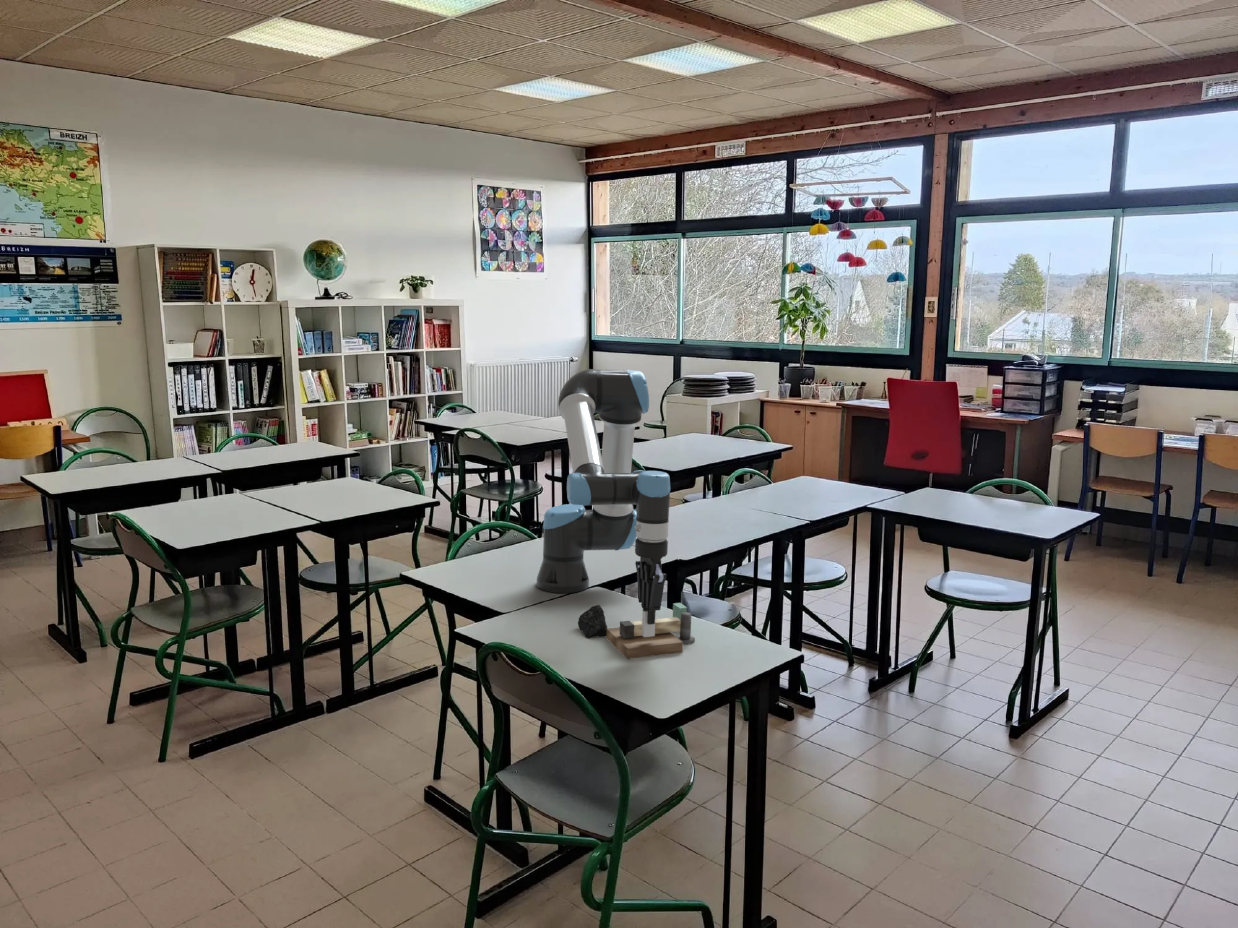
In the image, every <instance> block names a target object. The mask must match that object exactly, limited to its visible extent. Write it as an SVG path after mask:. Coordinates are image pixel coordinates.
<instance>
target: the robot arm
mask: <svg viewBox="0 0 1238 928" xmlns="http://www.w3.org/2000/svg"><path fill="white" fill-rule="evenodd" d="M648 387H649V386H648V382H647V379H646V376H645V374H644V373H643V371H641V370H635V369H633V370H631V369H628V368H626V369H594V368H592V369H591V368H588V369H584V370H580V371H578V372H576V373H575V374H574V375H572V376H571V377H570V378H569V379H568V380H567V381H566V382H565V383H564V385H563V386H562V388H561V390H560V392H559V395H558V401H557V402H558V404H557V405H558V411H559V415H560V417H561V418H562V419H563V420H564V425H565V431H566V436H567V437H566V438H567V443H568V450H569V455H570V461H571V468H572V472H573V473H570V474H568V475H567V479H566V480H567V481H566V494H567V495H566V497H567V501H568V504H567V503H566V504H560V505H556V506H553V507H550V508H548V509H547V510H546V511H545V513H544V516H543V525H542V528H543V545H542V546H543V549H542V551H543V552H542V556H543V557H542V562H541V564H540V567H539V570H538V573H537V576H536V587H537V588H538V589H540V590H542V591H544V592H550V593H555V594H556V593H557V594H569V593H570V594H571V593H572V594H573V593H578V592H583V591H585V590H587V589H588V588H589V586H590V577H589V574H588V571H587V568H586V564H585V561H584V551H585V552H586V551H620V550H628V549H631V547H633V545H634V553H635V555H636V556H638V557H639V559H640V560H635V563H634V565H635V569H636V578H637V579H636V580H637V595H638V599H637V601H638V602H639V604H640V603H641V608H642V615H641V616H642V617H641V618H642V619H641V621H642V636H643V637H651V636H655V619H656V615H657V613H656V611H661V606H662V599H663V596H664V595H663V593H664V586H665V583H666V580H667V573H663V572H662V569H663V568H662V567H663V566H662V559H663V558H665V557H666V556H667V555H668V551H669V550H668V548H669V546H668V544H669V541H668V537H669V531H670V530H669V527H670V520H669V518H670V517H669V516H670V498H671V497H670V493H671V488H672V487H671V478H670V475H669V473H667V472H665V471H661V470H659V471H658V470H643V469H642V470H641V469H639V470H634V471H632V463H633V453H634V452H633V451H634V441H635V439H634V438H635V431H636V430H635V429H636V428H635V427H636V425H638V424H639V423H640V422H641V420H642V414H643V415H644V414H647V413H648V412H649V409H650V395H649V388H648ZM595 413H597V414H598V417H599V419H600V421H602V422H603V435H602V448H600V441H599V436H598V432H597V426H596V422H595V417H594V416H595V415H594V414H595ZM601 449H602V450H601ZM634 505H636V509H634ZM585 506H586V507H587V506H592V509H586V508H585Z"/></svg>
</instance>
